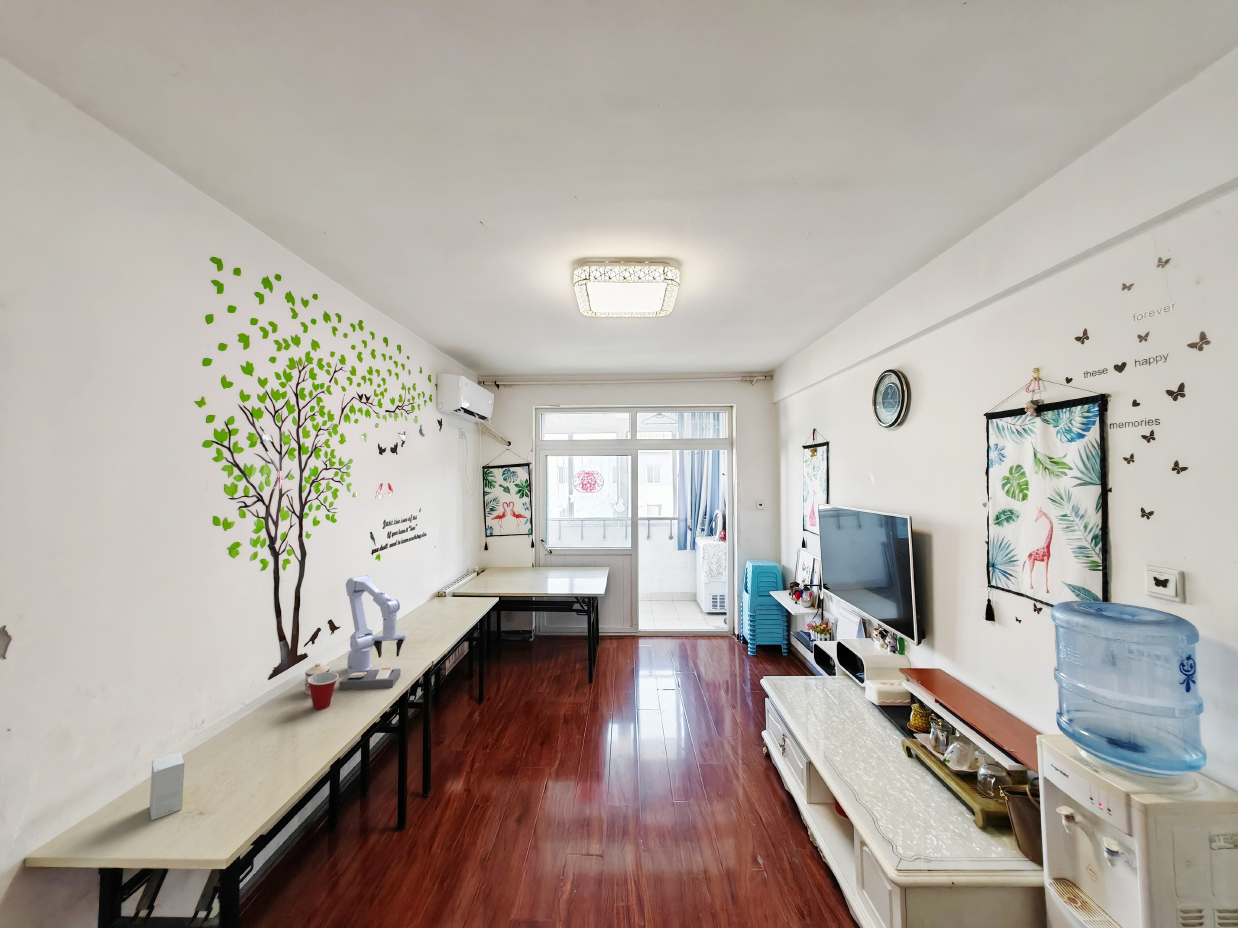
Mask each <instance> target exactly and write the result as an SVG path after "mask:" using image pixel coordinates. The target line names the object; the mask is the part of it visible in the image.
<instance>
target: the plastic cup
mask: <svg viewBox="0 0 1238 928" xmlns="http://www.w3.org/2000/svg"><path fill="white" fill-rule="evenodd" d="M339 677H340V675H339V674H338V673H336V672H332V671H331V672H330V671H329V672H322V673H317V674H314V675H312V676H310V677H309V678H308V682H309V685H310V691H311V695H310V697H311V702H312V708H313V709H314V711H321V710H325V709H328V708H329V707H330V705H331V702H332V698H333V695H334V692H335V691H334V690H335V686H336V683H337V680H338V679H339Z"/></svg>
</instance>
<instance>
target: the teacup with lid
mask: <svg viewBox="0 0 1238 928" xmlns="http://www.w3.org/2000/svg"><path fill="white" fill-rule="evenodd" d="M330 670H331V668H330V667H329V666H328V665H323V664H321V662H317V663H315V664H314V665H313V666H312V667H309V668H308V669H306V671H305V672H304V673H305V680H304V682H305V683H304V687H305V688H304V693H305V694H306V695H307V696H311V691H310V685H309V682H308V678H309V677H310V676H312V675H314V674H317V673H322V672H330Z"/></svg>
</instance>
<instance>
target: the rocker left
mask: <svg viewBox="0 0 1238 928" xmlns="http://www.w3.org/2000/svg"><path fill="white" fill-rule="evenodd" d="M366 674H367V672H355V673H353V674H351V675H349V678H355V677H362V676H364V675H366Z"/></svg>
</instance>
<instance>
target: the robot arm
mask: <svg viewBox="0 0 1238 928" xmlns="http://www.w3.org/2000/svg"><path fill="white" fill-rule="evenodd" d="M345 589H346V595H347V597H348V598H349V605H350V609H351V610H350V612H351V614H352V615H351V616H352V621H353V627H354V632H353V633H352V634H351V635H350V641H349V642H350V643H349V648H350V650H349V652H348V655H347V666H346V667H347V668H346V669H347V670H346V672H347V673H348V672H349V671H353V670H371V668H372V667H373V666H374V664H373V663H371V660H372V659H371V657H372V656H371V655H372V649H373V647H374V648H375V650H376V652H377V655H378V658H380V659H381V657H382V653H383V652H382V647H383V642H390V641H391V642H393V641H396V658H397V657H400V651H401V649H402V646H403V643H404V642H405V641H407V637H408V636H407V634H397V617H398V613H397V612H399V611H400V609H401V605H400V602H399V600H398V599H396V598H391V597H390V596H389V595H388V594H387V593H386V592H385V591H380V590H379V589H378V588H377V587H376V586H375V584H374V583H373V578H372V577H371V576H370V575H368V574H366V575H365V574H364V575H361V576H356V577H349V578H348V579H347V580H346V582H345ZM364 593H368V594H369V595H370V596H371V597H373V598H372V601H373V602H374V603H375V604H376V605H377V606H379V608H380V612H381V618H382V635H378V636H375V635H374V632H373V630H372V629H370V628H369V627H368V625H367V620H366V615H365V614H366V613H365V609H364V604H363V603H364V602H363V599H362V598H363V597H362V596H363V595H364Z"/></svg>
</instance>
